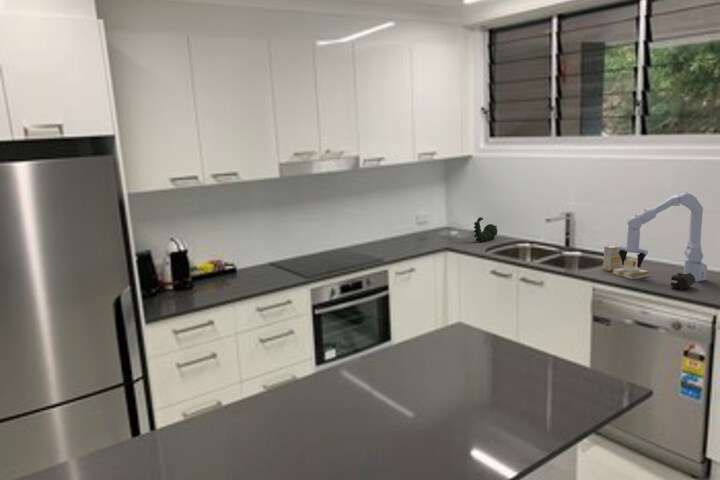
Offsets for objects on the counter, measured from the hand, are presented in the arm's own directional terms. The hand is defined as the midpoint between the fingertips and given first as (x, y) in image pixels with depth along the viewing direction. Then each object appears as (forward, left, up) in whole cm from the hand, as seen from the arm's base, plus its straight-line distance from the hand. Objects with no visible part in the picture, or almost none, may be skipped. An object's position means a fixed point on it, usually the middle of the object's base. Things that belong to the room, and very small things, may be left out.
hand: (631, 265), depth 278 cm
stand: (0, 0, -5) cm, 5 cm away
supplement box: (+13, -1, -5) cm, 14 cm away
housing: (0, 0, -2) cm, 2 cm away
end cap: (-28, -1, -5) cm, 28 cm away
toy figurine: (+112, +9, -5) cm, 113 cm away
